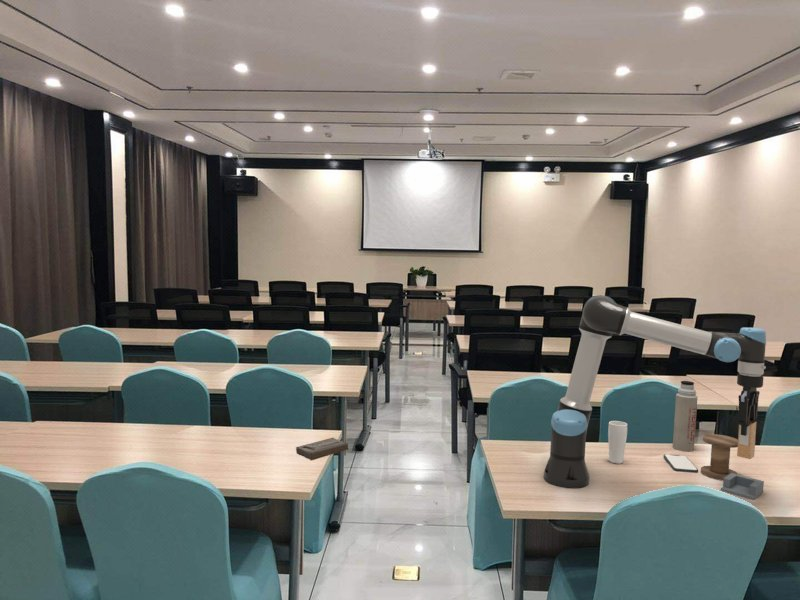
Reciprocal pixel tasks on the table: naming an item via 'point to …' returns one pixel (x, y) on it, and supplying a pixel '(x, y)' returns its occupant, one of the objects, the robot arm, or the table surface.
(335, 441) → the box
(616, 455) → the drinking glass
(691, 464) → the smartphone
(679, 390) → the thermos bottle
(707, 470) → the bobbin
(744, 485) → the grey slotted holder
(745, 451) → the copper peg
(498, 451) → the table surface
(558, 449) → the robot arm
